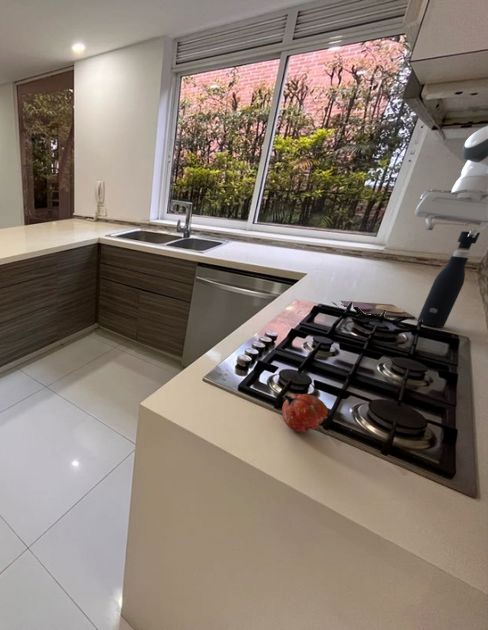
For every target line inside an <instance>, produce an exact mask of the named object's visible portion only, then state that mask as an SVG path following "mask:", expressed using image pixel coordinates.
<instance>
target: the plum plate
mask: <svg viewBox="0 0 488 630" xmlns="http://www.w3.org/2000/svg"><path fill="white" fill-rule="evenodd" d="M344 301H345V302H342V304H341V305H342V306H344V307H347V306H348V304H349V303H350V302H353V307H354V306H356V307H358V308H360V309H361V310H362V311H370V310H372V306H370V305H368V304H364V303H365V302H364V303H360V302H361V301H352V300H351V301H350V300H349V301H348V300H347V301H346V300H344Z"/></svg>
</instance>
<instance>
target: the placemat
mask: <svg viewBox="0 0 488 630" xmlns="http://www.w3.org/2000/svg"><path fill="white" fill-rule="evenodd" d="M340 301H341V302H345V301H346V300H340ZM359 302H360V303H364V304H368V305H370V306H372V310H370V311H363V312H364V313H366V314H371V315H376V316H375V317H381V316H380V315H381V313H382V312H383V311H384V310H386V313H385V317H384V318H397V319H400V318H399V317H402V316H407V317H408V320H409V319H410V320H415V319H416V316H414V315H413V314H410V313H409V312H407V311H406V310H405V309H404V308H402V307H398V306H396V305H395V304H393V303H377V302H365V301H364V302H362V301H359Z"/></svg>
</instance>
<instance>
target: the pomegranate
mask: <svg viewBox="0 0 488 630" xmlns="http://www.w3.org/2000/svg"><path fill="white" fill-rule="evenodd" d="M281 398H282V399H283V398H284V399H286V400H285V401H284V402H283V403H282V407H281V411H282V413H281V415H282V420H283V421H284V423H285V425H286V426H287V427H288V428H289V429H291V430H293V431H294V432H296V433H300V434H301V433H302V434H306V433H307V432H308V431H309V430H315V429H318V430H319V431H320V432H321V433H322V434H324V435H325V436H327V433H326V432H324V431H323V429H322V428H321V427H320V425H321V424H322V423H323V422H324V421H325V419H326V417H327V415H328V414H329V409H328V407H327V404H326V403H325V402H324V401H323V400H321V399H320V398H318V397H317V396H315V395H311V394H308V393H303V394H301V393H295V394H294V395H292V396H289V395H287V394H284V395H283V396H282V397H281Z"/></svg>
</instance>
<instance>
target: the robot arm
mask: <svg viewBox="0 0 488 630" xmlns="http://www.w3.org/2000/svg"><path fill="white" fill-rule="evenodd" d="M462 145H463V146H462V157H463V159H464V160H466V163H465V164H464V166H463V168H462V170H461V172H460V176H459V178H458V179H457V180H456V181H455V183H454V185H453V186H452V189H451V190H447V189H437V188H432V189H429V190H425V191H424V192H423V193H422V194H421V196H420V202H419V204H418V205H417V206H416V209H415V210H414V212H413V213H414V216H415V217H417V218H423V219H425V218H426V219H425V223H426V226H427V227H426V228H425V231H429V232H432V231H433V230H434V228H435V226H436V223H433V220H439V221H446V222H453V223H460V224H465V225H466V224H467V225H473V226H474V225H475V226H478V227H477V228H476V229H471V230H470V231H468V232H469V235H468V236H467V237H473V238H474V237H475V236H476V235H477V233H481V231H483V230H485V229H486V228H487V227H488V124H487V125H486V124H485V125H484V126H482V127H481V128H478V129H477V130H475V131H474V132H473V133H471V134H470V135H469V136H468V137H467V138H466V139H465V141H464V142H463V144H462Z"/></svg>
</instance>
